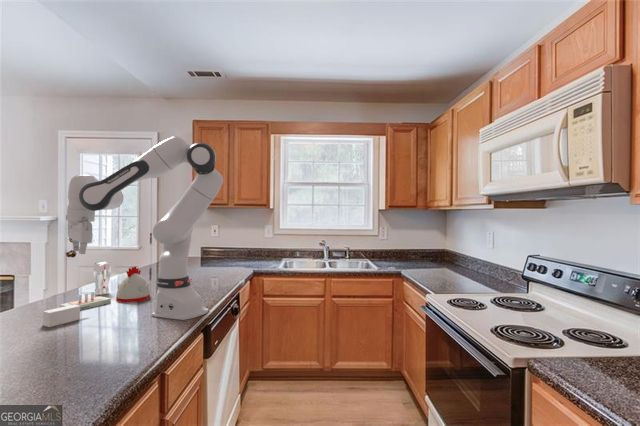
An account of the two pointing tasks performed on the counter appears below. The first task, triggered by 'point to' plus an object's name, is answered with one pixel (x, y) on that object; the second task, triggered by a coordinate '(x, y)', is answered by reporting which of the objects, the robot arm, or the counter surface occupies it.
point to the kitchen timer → (133, 287)
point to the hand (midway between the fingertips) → (79, 252)
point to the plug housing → (62, 315)
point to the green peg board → (89, 301)
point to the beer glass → (102, 277)
